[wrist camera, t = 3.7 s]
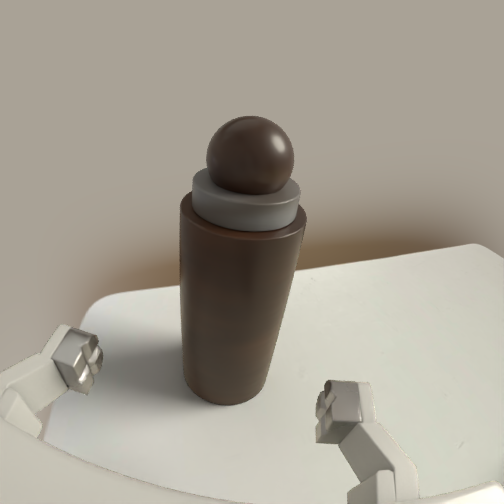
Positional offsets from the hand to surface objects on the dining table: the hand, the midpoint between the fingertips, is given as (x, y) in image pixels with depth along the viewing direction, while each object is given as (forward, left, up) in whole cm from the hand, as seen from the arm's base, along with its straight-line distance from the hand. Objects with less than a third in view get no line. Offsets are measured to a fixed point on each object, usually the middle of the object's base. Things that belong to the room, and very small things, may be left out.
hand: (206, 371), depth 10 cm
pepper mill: (+2, +6, -9) cm, 11 cm away
